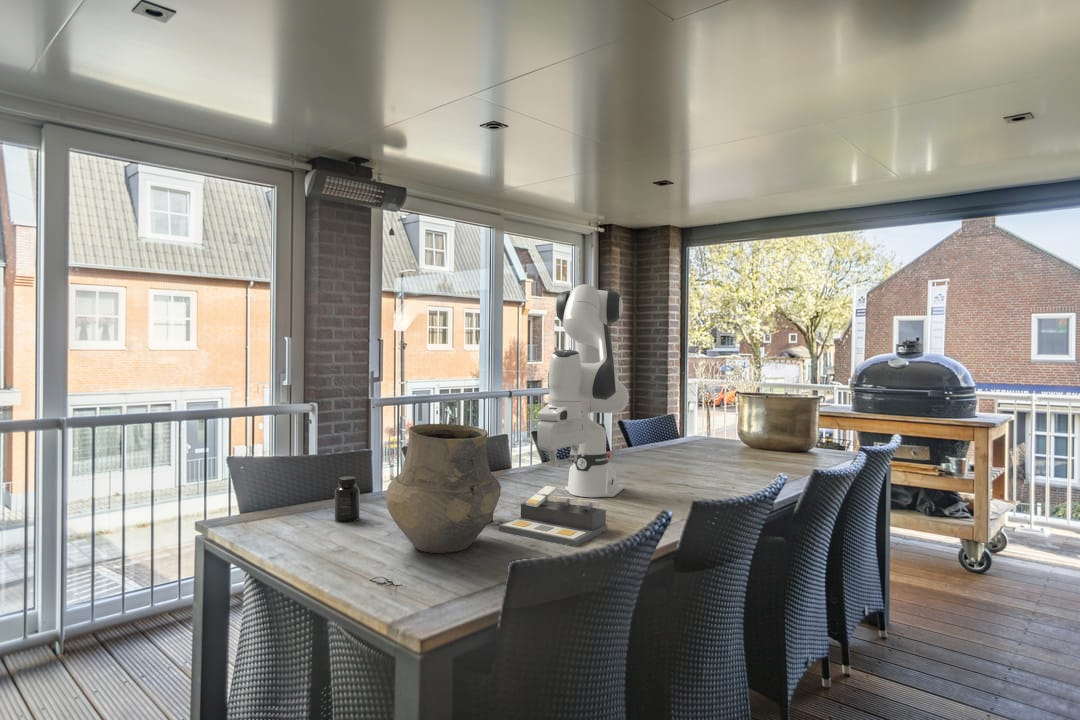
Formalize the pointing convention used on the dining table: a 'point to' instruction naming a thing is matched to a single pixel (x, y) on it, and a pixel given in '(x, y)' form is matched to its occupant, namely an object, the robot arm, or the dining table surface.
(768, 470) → the dining table surface
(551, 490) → the switch
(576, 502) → the switch
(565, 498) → the switch
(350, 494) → the supplement bottle
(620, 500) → the dining table surface
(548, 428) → the robot arm
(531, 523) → the switch unit
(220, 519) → the dining table surface
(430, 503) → the ceramic pot
